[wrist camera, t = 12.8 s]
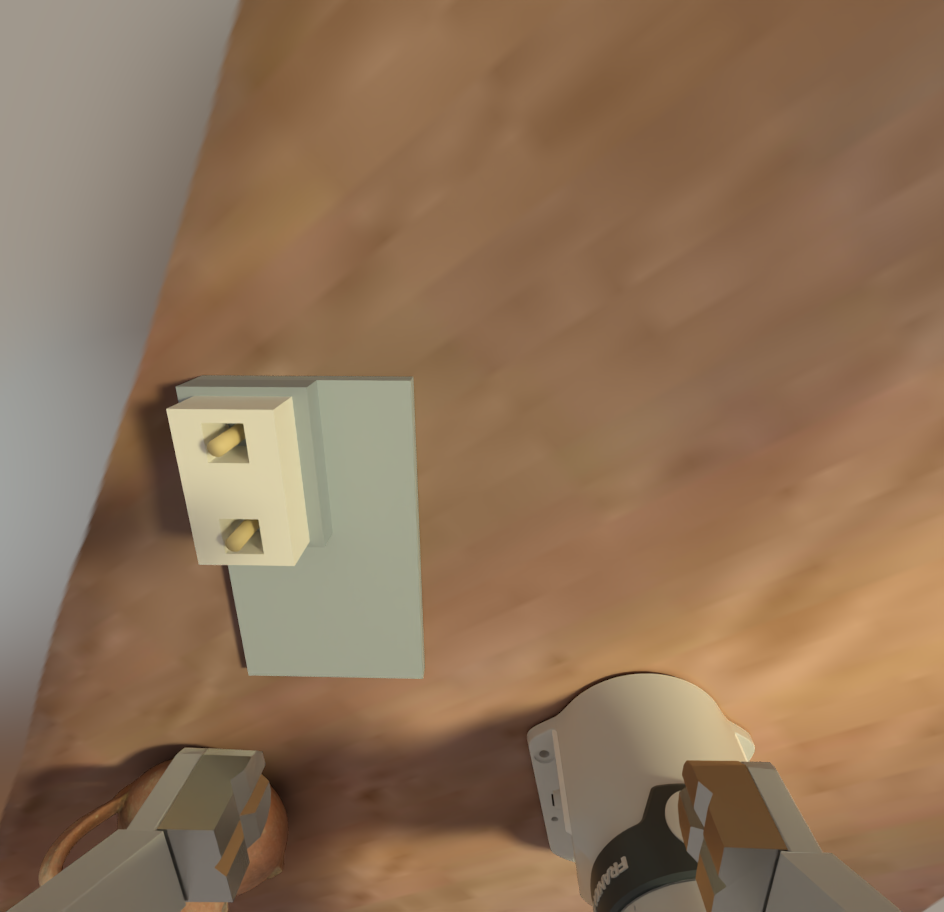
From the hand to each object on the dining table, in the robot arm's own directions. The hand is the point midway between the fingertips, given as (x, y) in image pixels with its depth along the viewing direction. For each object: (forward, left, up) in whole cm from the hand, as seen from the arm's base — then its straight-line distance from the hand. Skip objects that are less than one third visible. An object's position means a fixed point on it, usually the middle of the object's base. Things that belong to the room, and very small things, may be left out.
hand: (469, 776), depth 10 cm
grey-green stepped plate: (-10, +12, -27) cm, 31 cm away
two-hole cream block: (-3, +15, -24) cm, 28 cm away
